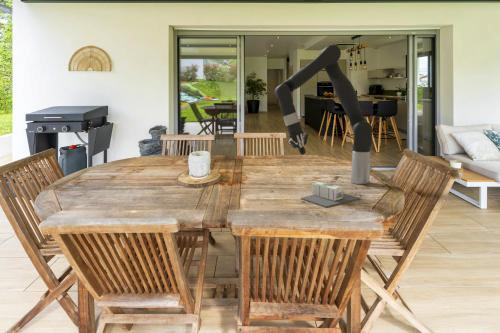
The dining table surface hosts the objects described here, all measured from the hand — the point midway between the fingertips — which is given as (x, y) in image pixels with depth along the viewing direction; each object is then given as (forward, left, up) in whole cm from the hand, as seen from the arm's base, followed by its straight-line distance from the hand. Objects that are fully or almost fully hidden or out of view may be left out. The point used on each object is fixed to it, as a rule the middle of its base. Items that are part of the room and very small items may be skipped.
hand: (303, 154), depth 197 cm
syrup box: (+7, +17, -13) cm, 22 cm away
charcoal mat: (+7, +26, -17) cm, 32 cm away
